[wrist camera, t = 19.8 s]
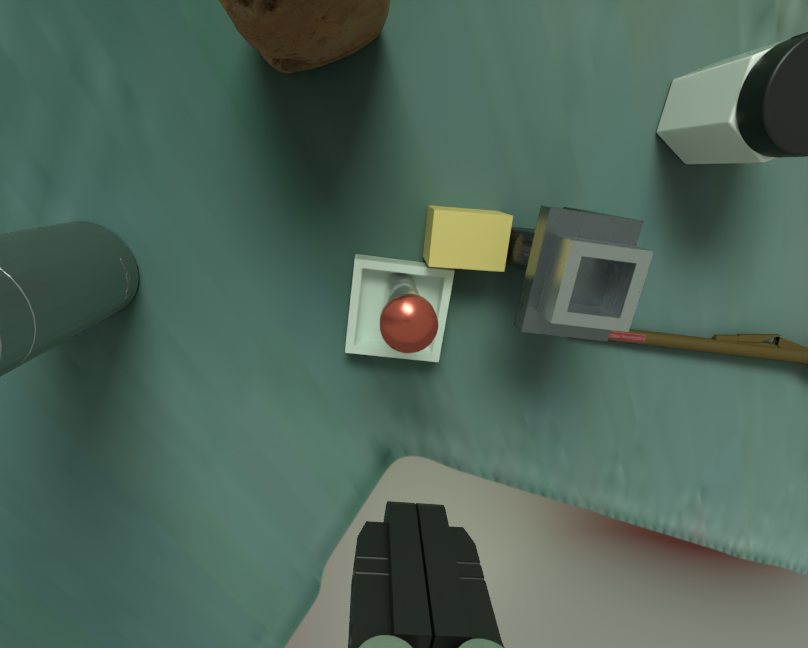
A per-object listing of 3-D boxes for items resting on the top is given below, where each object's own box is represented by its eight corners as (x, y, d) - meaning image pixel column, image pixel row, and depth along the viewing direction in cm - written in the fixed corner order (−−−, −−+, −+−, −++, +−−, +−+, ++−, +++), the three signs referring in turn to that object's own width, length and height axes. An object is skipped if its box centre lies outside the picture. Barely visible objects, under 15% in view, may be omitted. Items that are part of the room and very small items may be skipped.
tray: (346, 343, 47) (344, 352, 45) (355, 253, 44) (354, 258, 42) (435, 352, 48) (438, 362, 46) (450, 265, 45) (454, 271, 43)
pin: (375, 304, 46) (376, 349, 34) (381, 262, 44) (383, 294, 33) (418, 309, 46) (433, 356, 34) (425, 268, 45) (442, 301, 33)
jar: (763, 110, 42) (905, 88, 31) (697, 181, 44) (808, 184, 33) (706, 41, 40) (836, -10, 29) (638, 117, 42) (737, 97, 31)
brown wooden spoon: (559, 344, 51) (567, 303, 50) (848, 377, 53) (862, 339, 52) (575, 357, 46) (585, 312, 45) (891, 393, 48) (908, 351, 47)
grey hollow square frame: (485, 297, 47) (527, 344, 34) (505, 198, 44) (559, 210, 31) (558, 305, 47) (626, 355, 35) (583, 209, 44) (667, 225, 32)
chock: (422, 256, 45) (428, 266, 40) (427, 205, 43) (434, 209, 39) (490, 261, 46) (504, 271, 41) (498, 211, 44) (513, 215, 39)
